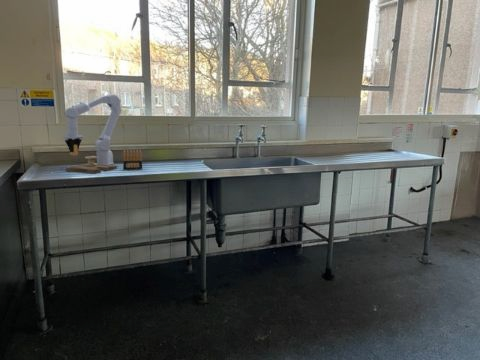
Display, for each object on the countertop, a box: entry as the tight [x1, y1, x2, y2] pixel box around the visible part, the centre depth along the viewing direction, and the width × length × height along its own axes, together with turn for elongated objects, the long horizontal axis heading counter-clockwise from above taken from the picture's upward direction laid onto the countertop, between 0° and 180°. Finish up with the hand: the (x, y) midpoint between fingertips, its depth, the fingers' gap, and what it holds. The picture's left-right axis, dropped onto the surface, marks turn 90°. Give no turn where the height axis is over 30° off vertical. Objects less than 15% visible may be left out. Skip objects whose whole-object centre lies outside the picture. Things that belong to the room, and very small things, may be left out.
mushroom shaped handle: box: [84, 155, 97, 166], centre depth 208 cm, size 6×6×5 cm
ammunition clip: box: [122, 148, 143, 171], centre depth 209 cm, size 11×2×12 cm, turn 110°
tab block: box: [69, 144, 79, 156], centre depth 212 cm, size 3×3×6 cm
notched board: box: [65, 162, 118, 175], centre depth 205 cm, size 18×20×2 cm
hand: (74, 151), depth 212 cm, fingers closed on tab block, 3 cm apart
